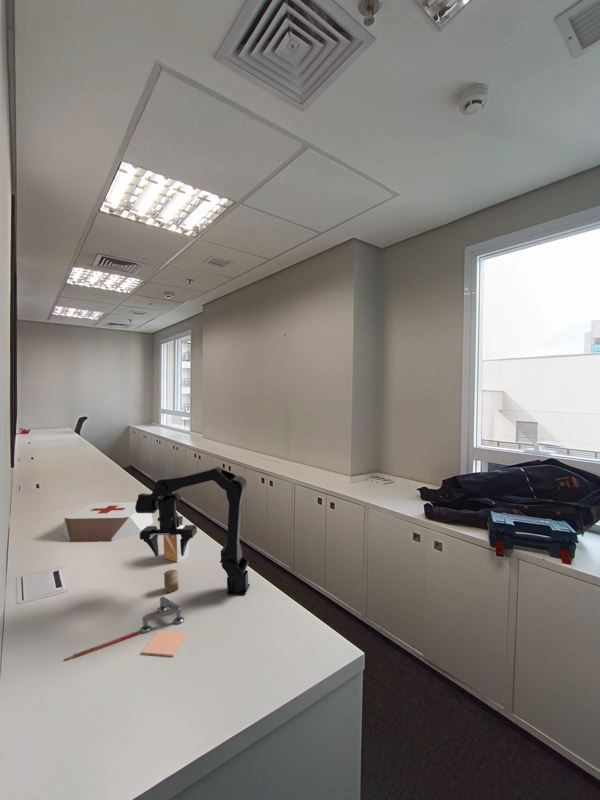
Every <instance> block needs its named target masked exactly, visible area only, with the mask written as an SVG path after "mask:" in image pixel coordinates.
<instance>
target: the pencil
mask: <svg viewBox="0 0 600 800" xmlns="http://www.w3.org/2000/svg"><path fill="white" fill-rule="evenodd" d="M140 633H141V632H140V630H139V631H136V632H133V633H130V634H128V635H124V636H122V637H119V638H115V639H113V640H111V641H107V642H104V643H102V644H99V645H97V646H93V647H91V648H88V649H84V650H82V651H80V652H77V653H74V654H72V655H69V656H68V657H66V658H65V659H63V660H62V661H69V660H72V659H75V658H78V657H81V656H84V655H87V654H89V653H92V652H95V651H98V650H101V649H103V648H106V647H109V646H111V645H115V644H117V643H120V642H122V641H126V640H128V639H131V638H134V637H136V636H139V635H140Z"/></svg>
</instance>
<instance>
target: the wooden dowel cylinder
mask: <svg viewBox="0 0 600 800" xmlns="http://www.w3.org/2000/svg"><path fill="white" fill-rule="evenodd" d="M163 578H164V579H163V581H164V582H163V583H164V592H165V593H167V594H173V593H176V592H177V591H178V590H179V572H178V570H176V569H169V570H167V571H165V572H164V574H163ZM175 591H176V592H175ZM172 592H173V593H172Z"/></svg>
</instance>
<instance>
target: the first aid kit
mask: <svg viewBox="0 0 600 800" xmlns="http://www.w3.org/2000/svg"><path fill="white" fill-rule="evenodd" d="M136 502H137V501H131V502H130V501H128V502H127V501H126V502H121V501H120V502H94V503H89V504H87V505H85V506H83V507H82V508H80V509H78V510H76V511H75V512H73V513H71V514H69V515H67V516H65V517H64V521H63V528H62V535H63V536H64V537H65V538H66V540H68V542H70V543H75V542H76V543H83V542H85V543H91V542H95V543H96V542H99V541H102V542H114V540H115V541H118V540H121V539H120V538H122V539H124V537H125V538H129V537H131V535H132V536H135V535H134V534H136V535H138V533H139V534H140V532H141V531H142V530H143V529H144V528H146V527H147V526H150V525H151V524H152V523H153V522H154V518H153V513H137V512H136V509H135V506H136ZM153 524H154V523H153ZM153 524H152V525H153ZM152 525H151V526H152ZM128 536H129V537H128ZM117 539H118V540H117Z"/></svg>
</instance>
